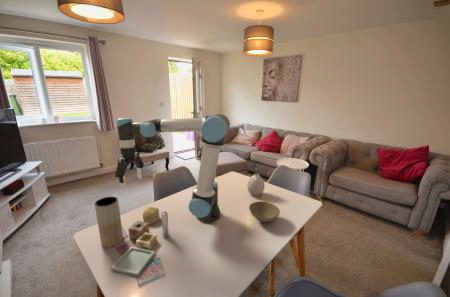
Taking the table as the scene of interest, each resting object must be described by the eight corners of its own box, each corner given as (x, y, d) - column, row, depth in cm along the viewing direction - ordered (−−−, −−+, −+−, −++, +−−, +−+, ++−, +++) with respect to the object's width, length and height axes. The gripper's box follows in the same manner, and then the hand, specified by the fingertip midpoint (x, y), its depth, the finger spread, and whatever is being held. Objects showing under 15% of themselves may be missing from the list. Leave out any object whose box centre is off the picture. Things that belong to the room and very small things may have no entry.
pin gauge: (169, 234, 109) (168, 211, 105) (167, 238, 106) (165, 215, 103) (164, 233, 110) (163, 211, 106) (162, 237, 107) (160, 214, 103)
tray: (155, 253, 96) (155, 251, 95) (137, 276, 83) (137, 273, 83) (131, 248, 99) (131, 246, 98) (111, 270, 86) (110, 267, 86)
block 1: (149, 232, 111) (148, 222, 109) (141, 240, 104) (140, 230, 103) (138, 230, 112) (137, 220, 111) (129, 238, 106) (128, 228, 104)
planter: (108, 233, 109) (102, 195, 103) (126, 234, 109) (121, 196, 103) (96, 247, 99) (89, 206, 94) (116, 247, 99) (110, 206, 93)
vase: (265, 198, 148) (266, 177, 144) (247, 198, 149) (248, 177, 144) (262, 191, 161) (263, 171, 157) (246, 190, 161) (247, 171, 157)
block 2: (157, 241, 104) (156, 234, 103) (149, 250, 98) (148, 243, 97) (145, 238, 106) (144, 232, 105) (136, 248, 99) (135, 241, 98)
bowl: (284, 220, 123) (285, 208, 121) (268, 234, 110) (269, 221, 108) (259, 208, 135) (259, 198, 133) (242, 220, 122) (242, 208, 120)
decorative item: (149, 230, 118) (157, 219, 115) (136, 220, 118) (144, 208, 115) (157, 221, 127) (165, 211, 124) (145, 211, 127) (153, 201, 124)
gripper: (137, 141, 122) (140, 174, 127) (103, 152, 99) (109, 191, 104) (147, 142, 120) (151, 175, 125) (116, 153, 97) (121, 193, 102)
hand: (132, 182), depth 115 cm, fingers open, 13 cm apart
